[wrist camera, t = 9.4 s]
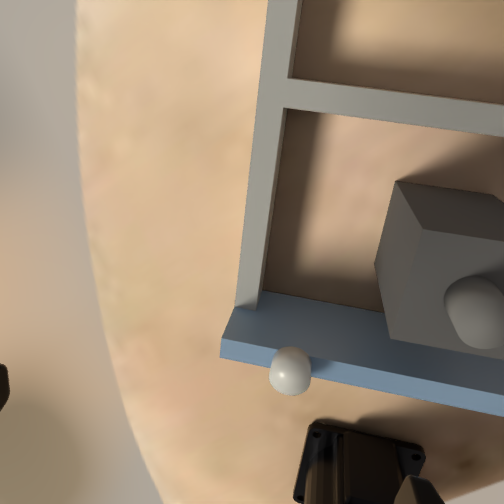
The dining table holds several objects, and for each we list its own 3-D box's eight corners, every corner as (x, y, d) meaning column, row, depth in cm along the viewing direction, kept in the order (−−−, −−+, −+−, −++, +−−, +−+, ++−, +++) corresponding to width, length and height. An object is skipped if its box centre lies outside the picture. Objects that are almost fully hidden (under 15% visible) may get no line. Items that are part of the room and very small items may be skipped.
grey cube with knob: (462, 278, 19) (534, 394, 12) (374, 263, 19) (396, 367, 13) (492, 194, 17) (597, 274, 10) (395, 180, 18) (433, 248, 11)
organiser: (566, 371, 20) (645, 472, 15) (240, 308, 22) (213, 379, 17) (946, -320, 10) (1506, -675, 5) (314, -327, 12) (302, -598, 7)
